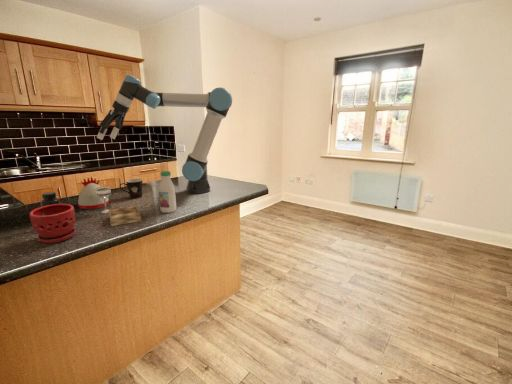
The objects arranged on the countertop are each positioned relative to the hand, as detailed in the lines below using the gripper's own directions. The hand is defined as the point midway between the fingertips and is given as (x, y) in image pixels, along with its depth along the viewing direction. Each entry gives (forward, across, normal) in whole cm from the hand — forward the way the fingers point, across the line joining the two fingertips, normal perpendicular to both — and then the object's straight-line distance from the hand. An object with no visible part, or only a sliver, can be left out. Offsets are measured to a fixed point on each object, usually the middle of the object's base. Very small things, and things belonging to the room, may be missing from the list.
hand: (106, 138), depth 140 cm
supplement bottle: (+37, +31, +7) cm, 49 cm away
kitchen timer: (+32, +11, +14) cm, 37 cm away
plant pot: (+29, +52, +22) cm, 64 cm away
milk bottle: (+12, +22, +50) cm, 56 cm away
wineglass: (+27, +22, +24) cm, 42 cm away
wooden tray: (+20, +33, +36) cm, 53 cm away
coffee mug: (+24, -2, +26) cm, 36 cm away
